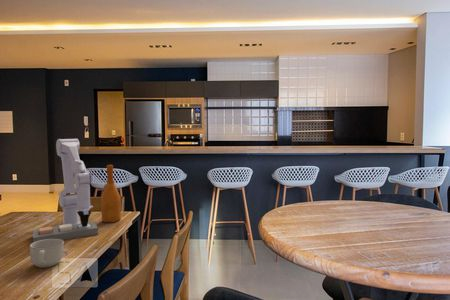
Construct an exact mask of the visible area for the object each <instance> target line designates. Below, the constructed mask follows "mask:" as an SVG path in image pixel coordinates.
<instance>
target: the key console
mask: <svg viewBox="0 0 450 300" xmlns="http://www.w3.org/2000/svg"><path fill="white" fill-rule="evenodd" d="M88 224H90V226H91V227H87V228H81V229H79V228H78V226H79V225H82V224H81V222H80V224H73V225H72V230H68V231H61V232H60V230H59V226H54V227H53V226H52V231H53V233H48V234H41V235H40V232H39V228H38V229H34V230H32V241H33V242H32V243H34V242H36V241H40V240H45V239H60V240H63V241H64V240H65V241H66V240H72V239H76V238H81V237H82V238H84V237H87V236H88V237H90V236H95V235H96V236H97V235H98V234H99V227H98V226H97V224H96V223H95V221H88Z"/></svg>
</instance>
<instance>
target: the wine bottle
mask: <svg viewBox="0 0 450 300" xmlns="http://www.w3.org/2000/svg"><path fill="white" fill-rule="evenodd" d="M106 174H107V180H106V183H104V185H103V187H102V188H103V189H102V190H103V192H102V195H101V200H100V203H101V204H100V207H101V208H100V209H101V210H100V211H101V220H102V222H103V223H116V222H119V221H121V219H122V218H121V217H122V204H121V203H122V202H121V195H120V192H119V191H118V188H117V187H116V184H115V181H114V165H113V164H106Z"/></svg>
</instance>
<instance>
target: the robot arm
mask: <svg viewBox="0 0 450 300" xmlns="http://www.w3.org/2000/svg"><path fill="white" fill-rule="evenodd" d="M80 145H81V144H80V141H79V139H78V138H64V139H63V138H57V140H56V143H55V148H56V149H55V150H56V155H57V156H58V157H60V160H61V166H62V167H61V168H62V175H63V176H62V177H63V185H64V186H63V189H62V190H60V192H59V194H58V196H59V197H58V204H59V206H60V207H61V208H62V213H63V214H62V215H63V220H62V221H61V222H62V223H61V224H62V225H65V224H71V225H73V224H80V223H81V224H82V227H84V226H87V225H88V222H89V218H90V215H91V214H92V211H91V209H93V208H94V206H93V205H91V185H90V184H92V174H91V171H89V170H87V168H86V165H85V163H84V161H83V160H81V159H80V154H79V150H80V147H81V146H80Z"/></svg>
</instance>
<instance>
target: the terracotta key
mask: <svg viewBox="0 0 450 300" xmlns="http://www.w3.org/2000/svg"><path fill="white" fill-rule="evenodd" d="M52 227H53V226H46V227H45V226H44V227H39V228H38V229H39V232H40V235H41V234H48V233H53V231H52Z"/></svg>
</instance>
